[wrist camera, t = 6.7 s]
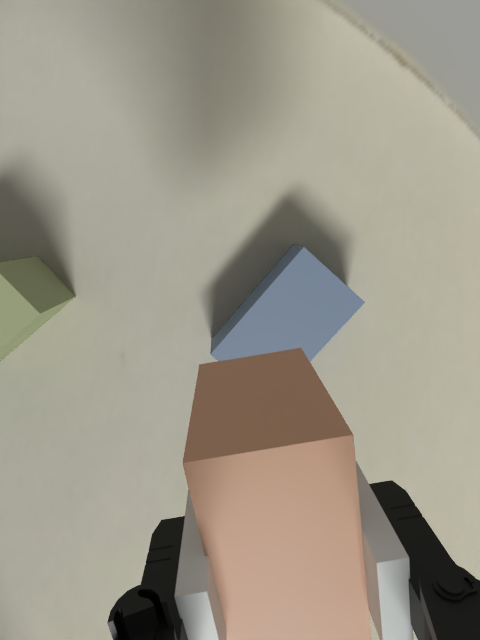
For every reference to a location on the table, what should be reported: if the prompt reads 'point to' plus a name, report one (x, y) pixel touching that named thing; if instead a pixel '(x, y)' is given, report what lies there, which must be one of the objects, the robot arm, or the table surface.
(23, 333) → the brick olive
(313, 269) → the brick slate
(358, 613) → the brick terracotta
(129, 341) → the table surface
